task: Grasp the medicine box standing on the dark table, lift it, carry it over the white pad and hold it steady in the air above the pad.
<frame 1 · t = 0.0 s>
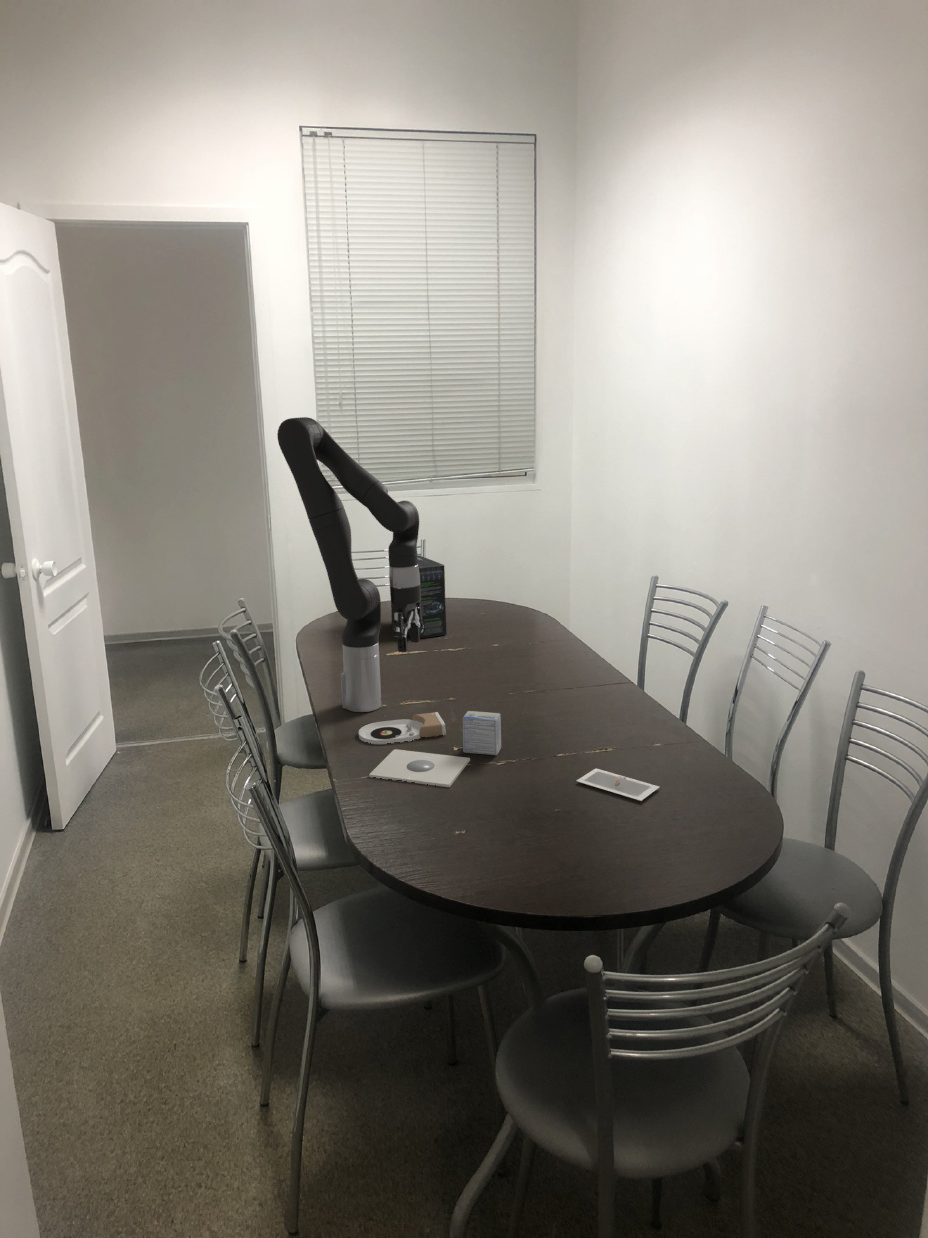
hand: (409, 646, 219), 17 cm above the table, tool pointing down, fingers open, 8 cm apart
white pad: (420, 768, 189), on the table
record player: (400, 735, 209), on the table
headset box: (418, 630, 299), on the table
touchpad: (617, 789, 179), on the table
medicine box: (482, 751, 198), on the table
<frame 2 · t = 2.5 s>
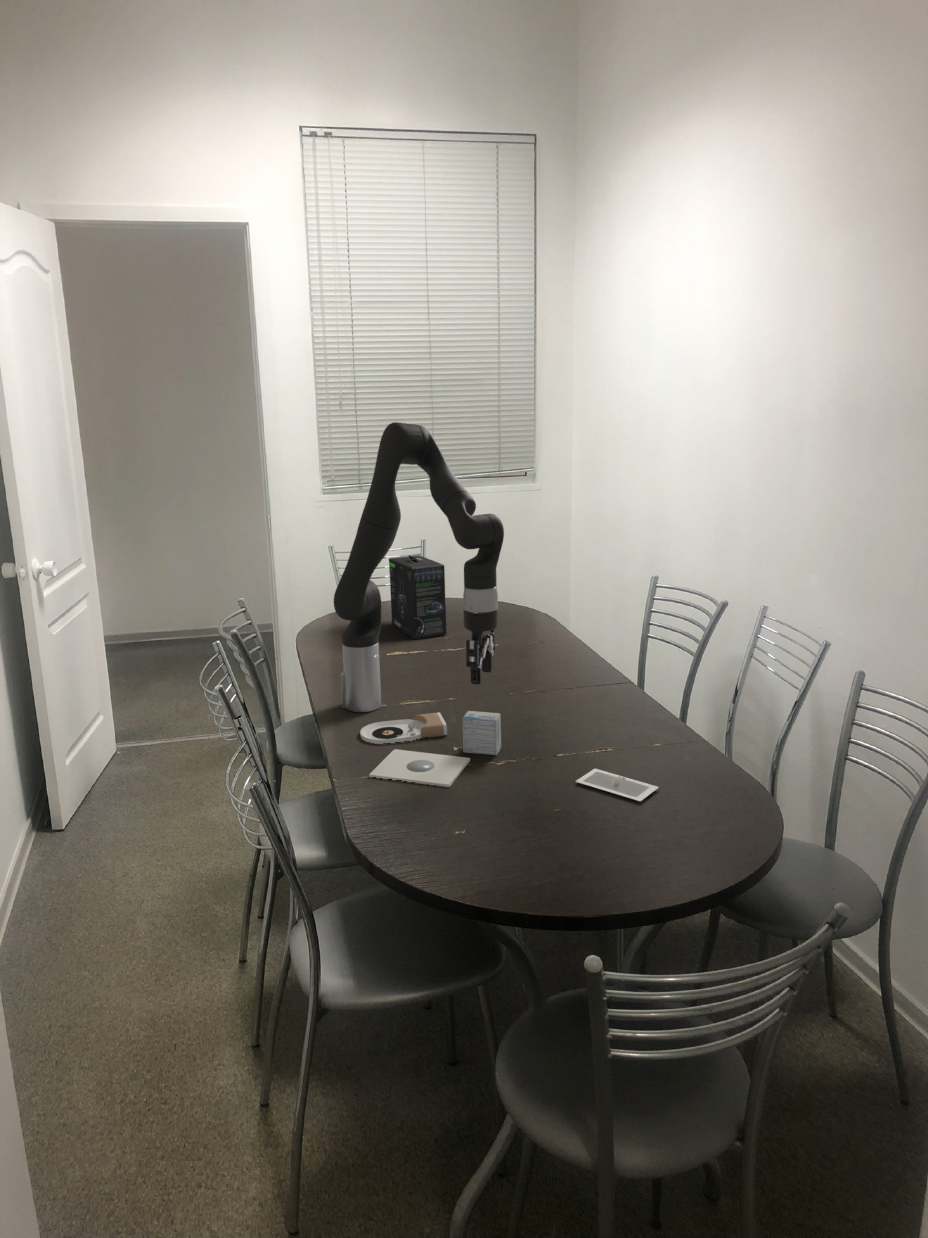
hand: (481, 677, 194), 17 cm above the table, tool pointing down, fingers open, 8 cm apart
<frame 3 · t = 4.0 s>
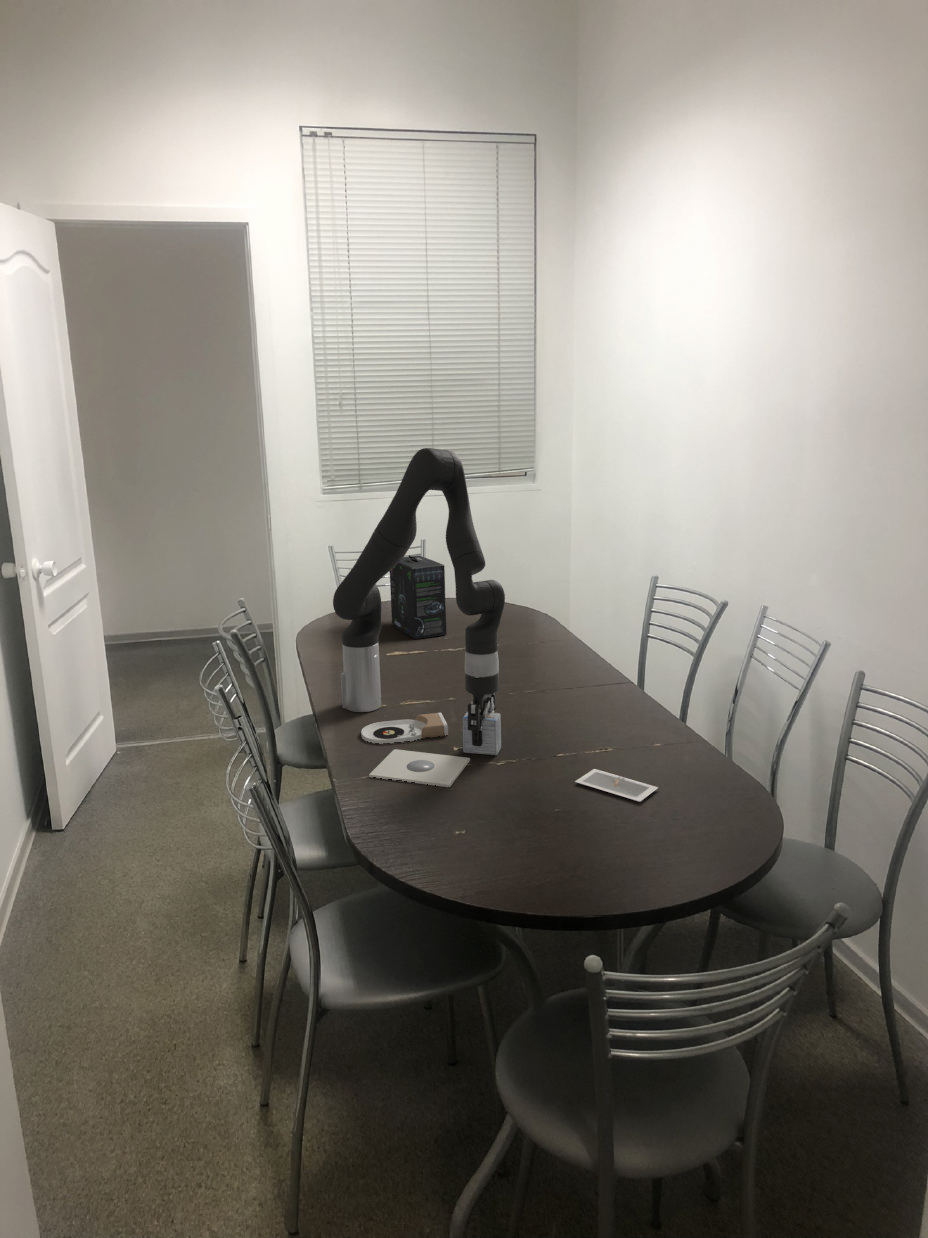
hand: (482, 738, 197), 3 cm above the table, tool pointing down, fingers open, 8 cm apart
nothing on the table moved.
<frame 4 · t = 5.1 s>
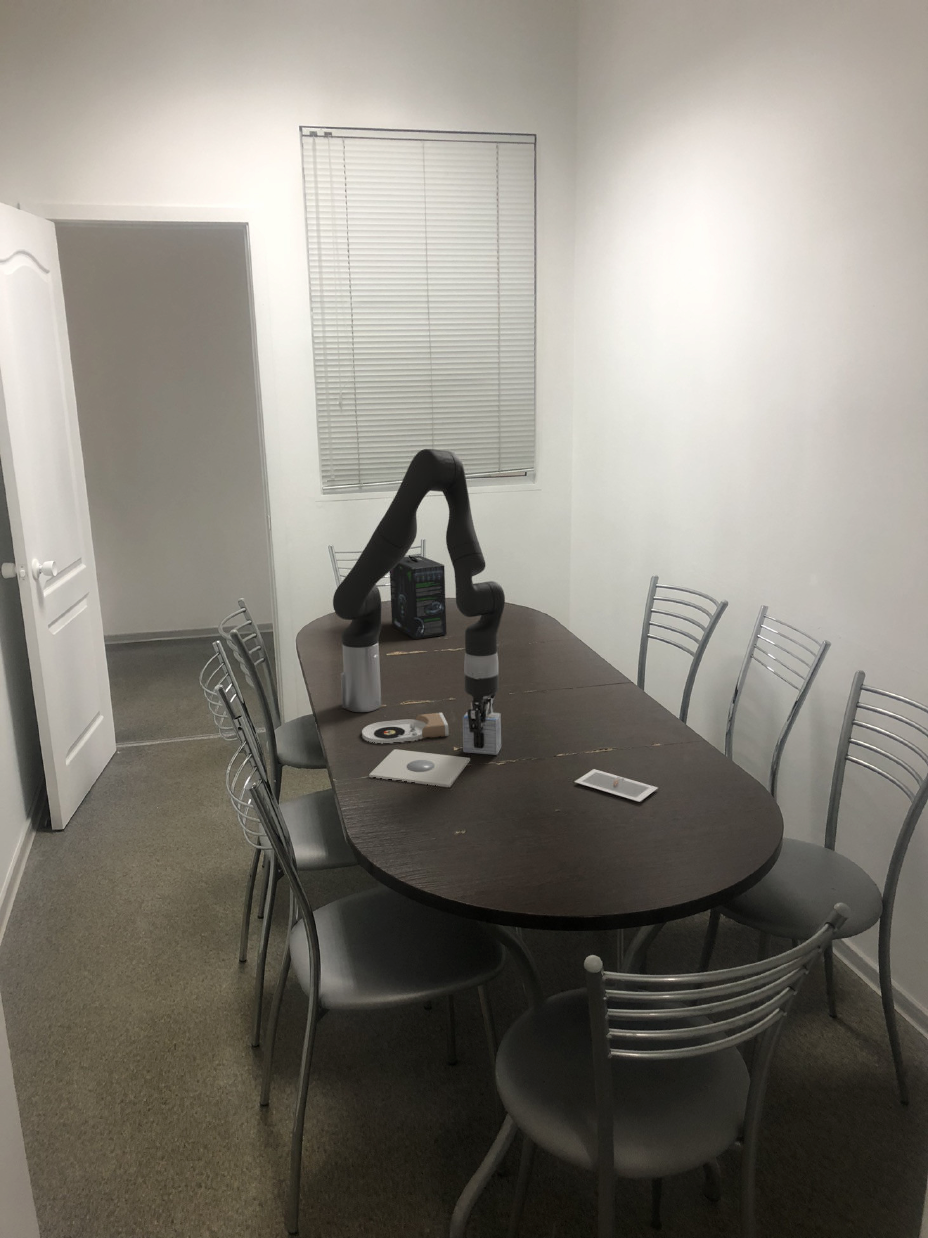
hand: (482, 742, 197), 2 cm above the table, tool pointing down, fingers closed on medicine box, 4 cm apart
medicine box: (482, 751, 198), on the table, touching gripper
everything else where it was.
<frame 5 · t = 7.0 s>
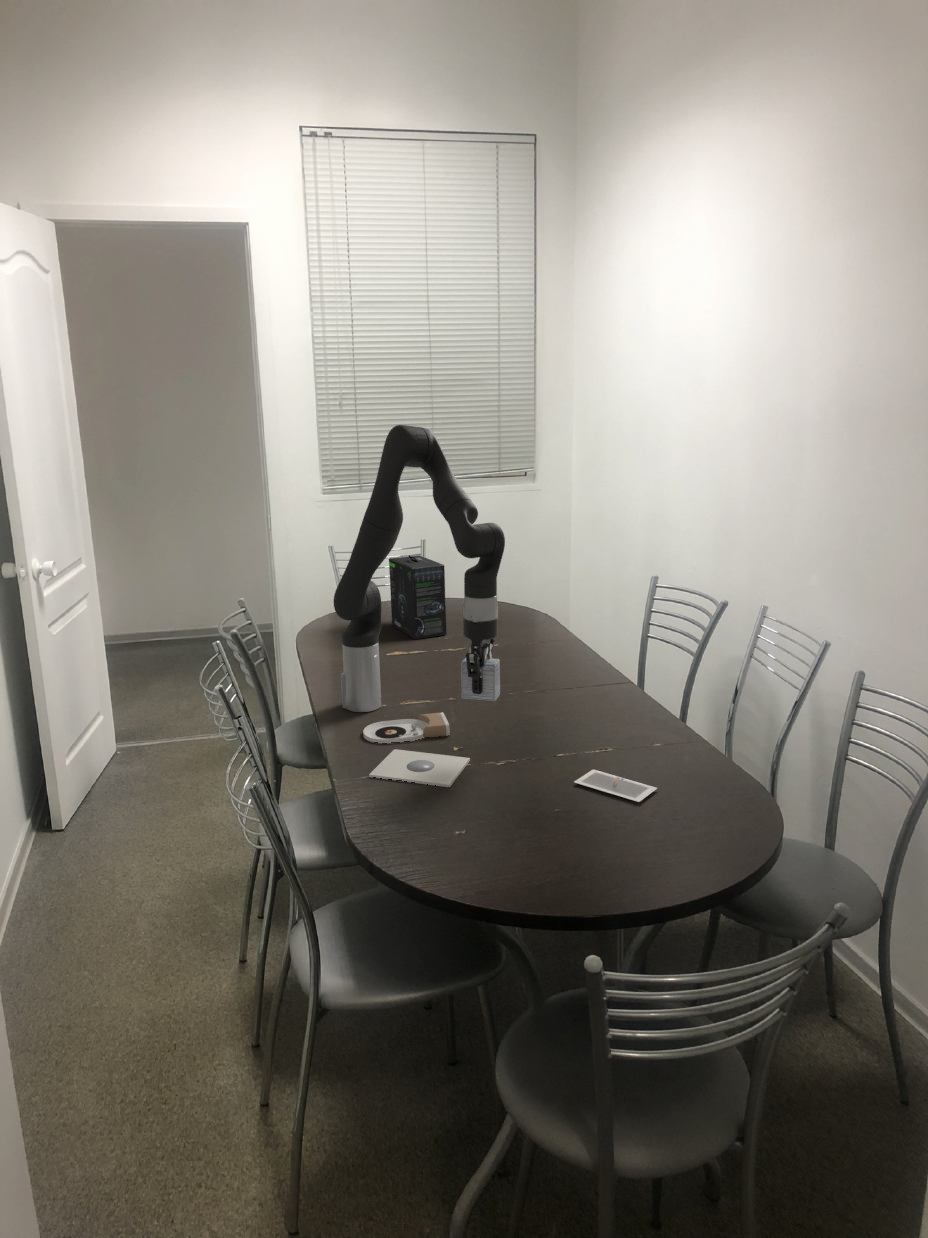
hand: (480, 689, 194), 15 cm above the table, tool pointing down, fingers closed on medicine box, 4 cm apart
medicine box: (480, 698, 195), point 13 cm above the table, touching gripper
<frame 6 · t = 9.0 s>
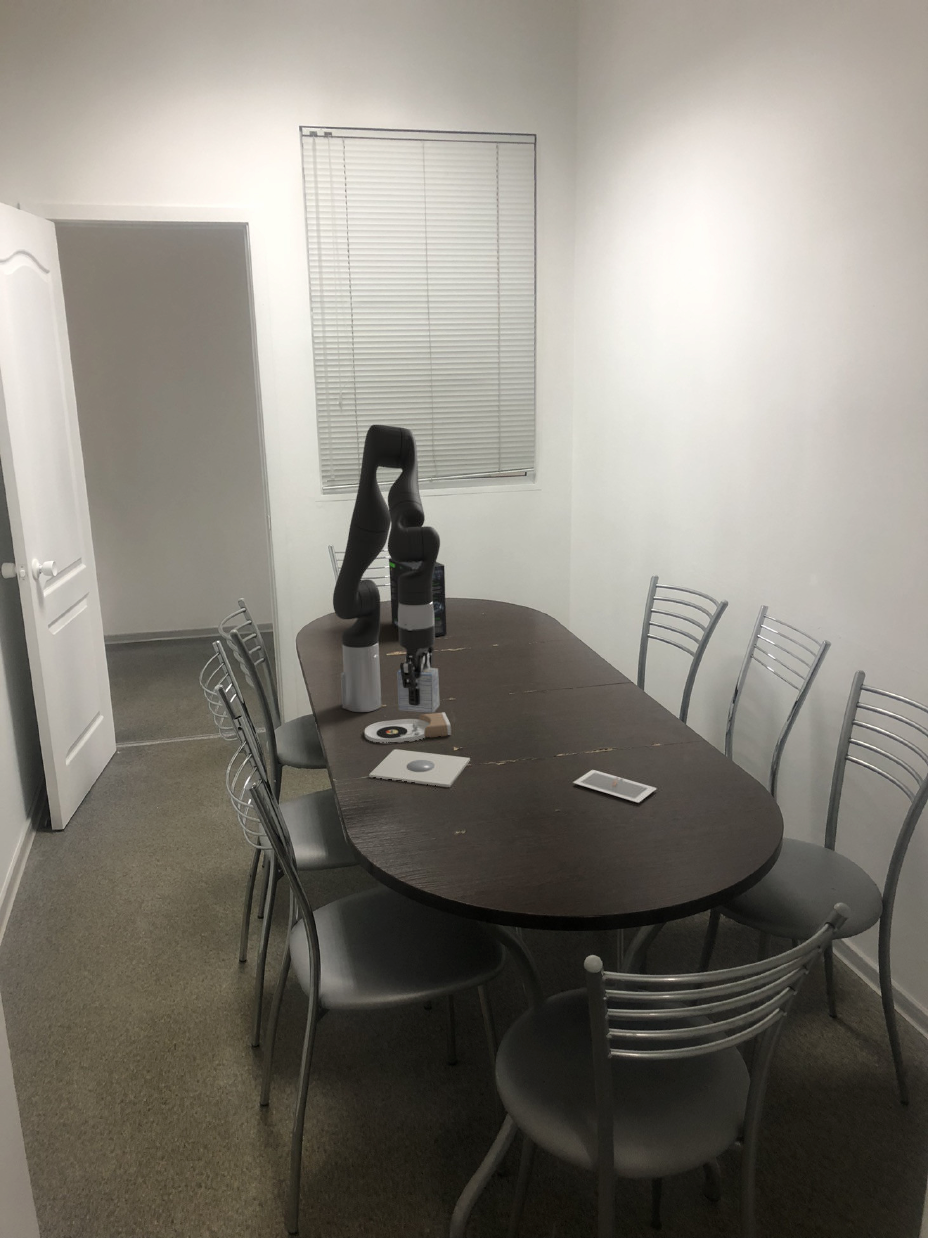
hand: (418, 700, 185), 16 cm above the table, tool pointing down, fingers closed on medicine box, 4 cm apart
medicine box: (419, 709, 186), point 14 cm above the table, touching gripper
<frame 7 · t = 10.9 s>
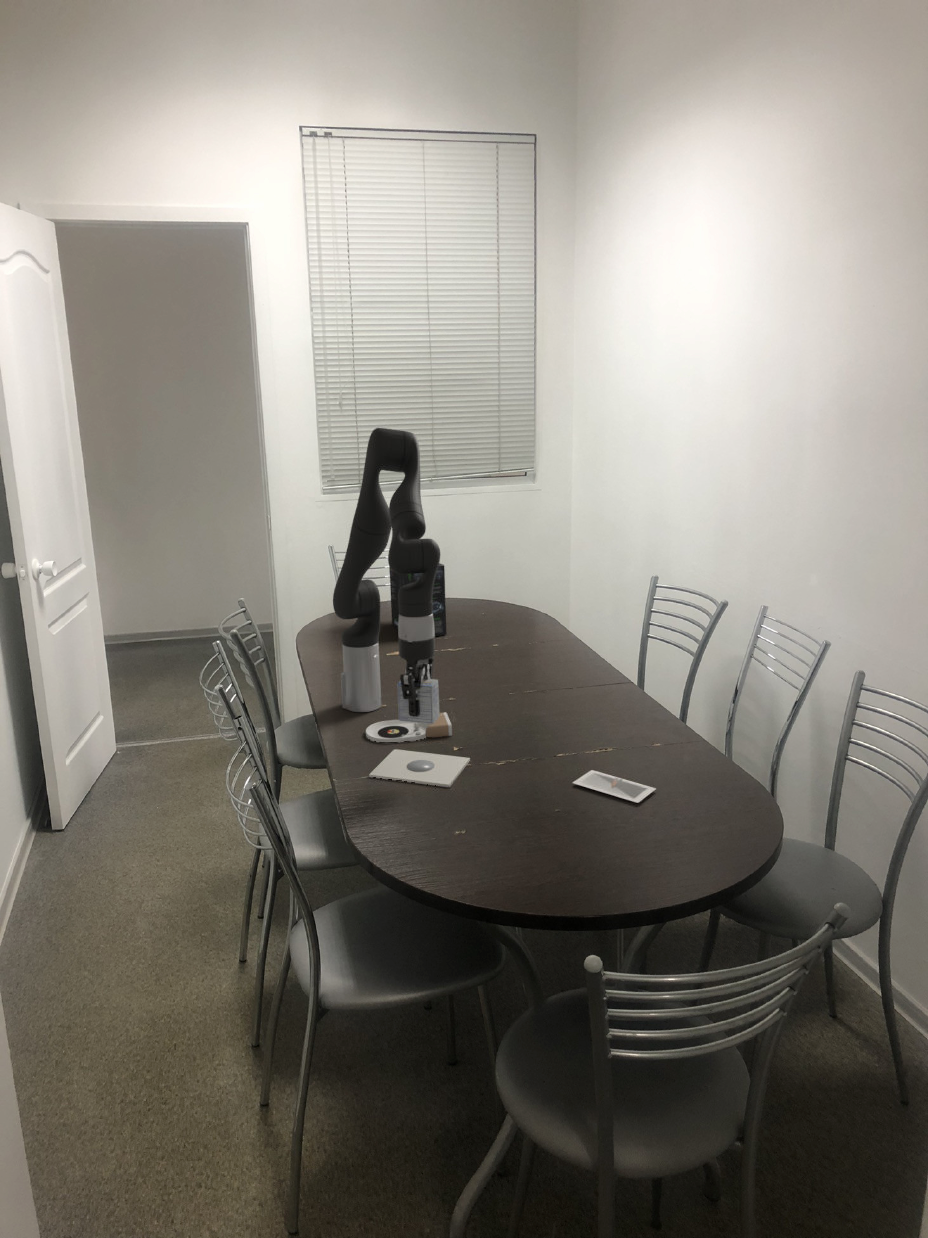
hand: (418, 711, 186), 13 cm above the table, tool pointing down, fingers closed on medicine box, 4 cm apart
medicine box: (419, 720, 186), point 11 cm above the table, touching gripper
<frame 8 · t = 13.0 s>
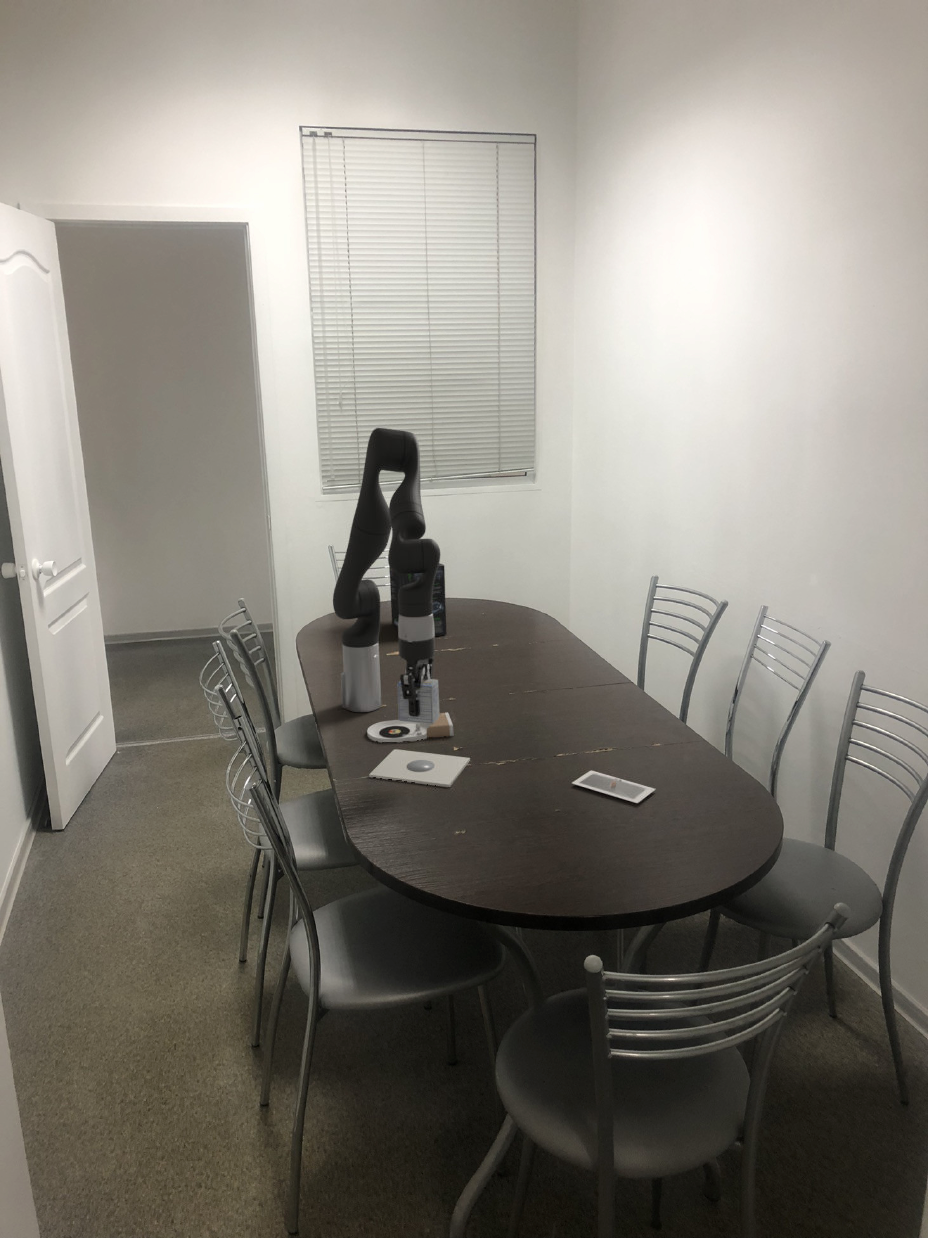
hand: (418, 711, 186), 13 cm above the table, tool pointing down, fingers closed on medicine box, 4 cm apart
medicine box: (419, 720, 186), point 11 cm above the table, touching gripper
at the end: the gripper is holding medicine box; medicine box point 11.1 cm above the table; medicine box 0.1 cm from the white pad (horizontally) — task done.
